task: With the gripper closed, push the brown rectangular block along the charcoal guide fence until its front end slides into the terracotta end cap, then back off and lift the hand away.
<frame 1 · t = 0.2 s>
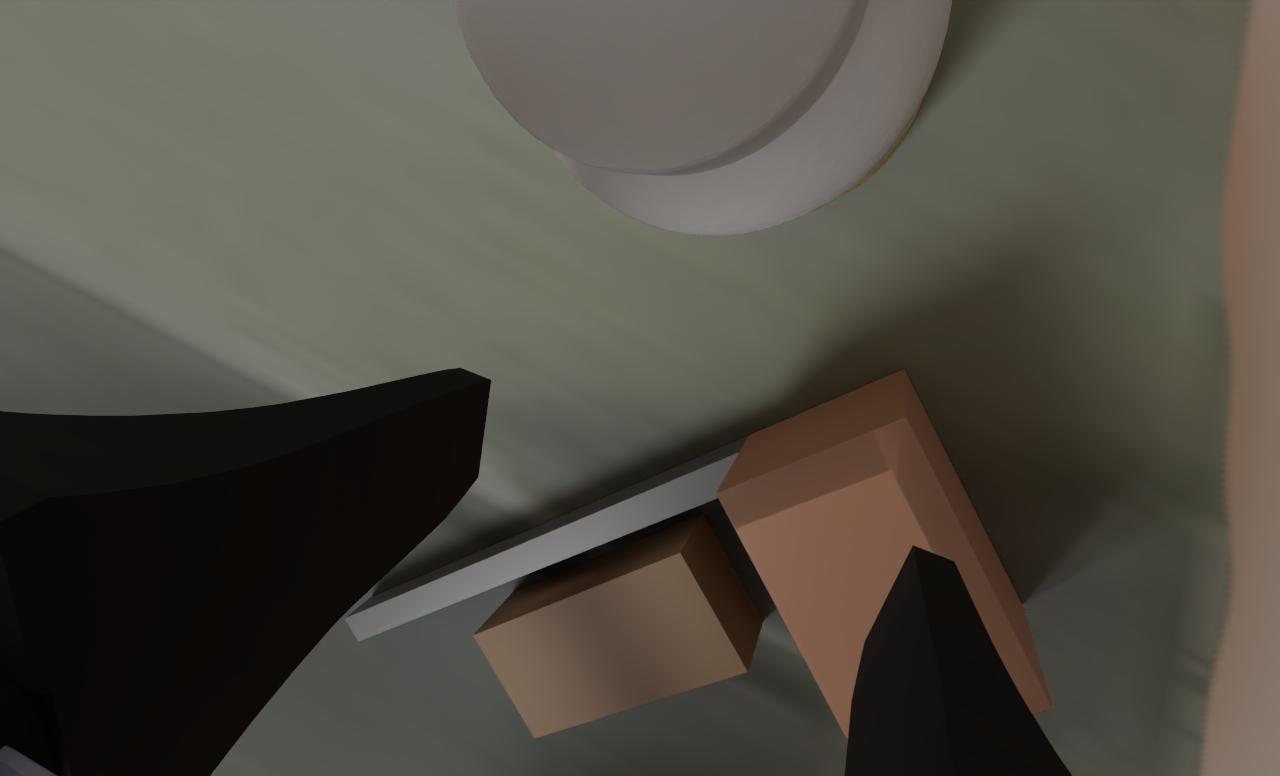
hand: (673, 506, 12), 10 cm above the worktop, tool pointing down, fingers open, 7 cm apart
brown rectangular block: (633, 601, 26), on the worktop
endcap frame: (655, 597, 25), on the worktop
supplement bottle: (792, 81, 20), on the worktop
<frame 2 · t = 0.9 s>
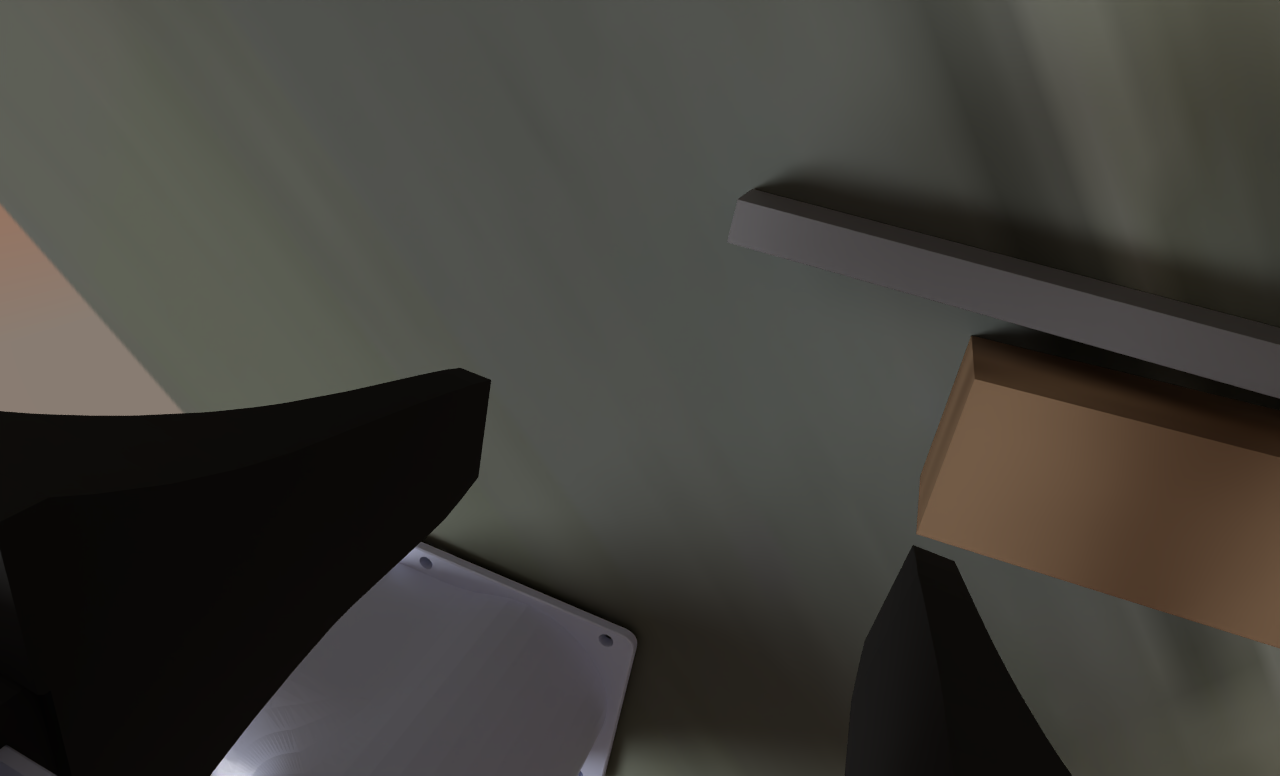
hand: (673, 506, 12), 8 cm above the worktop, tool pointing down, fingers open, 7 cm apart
brown rectangular block: (1118, 451, 18), on the worktop
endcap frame: (1167, 472, 17), on the worktop
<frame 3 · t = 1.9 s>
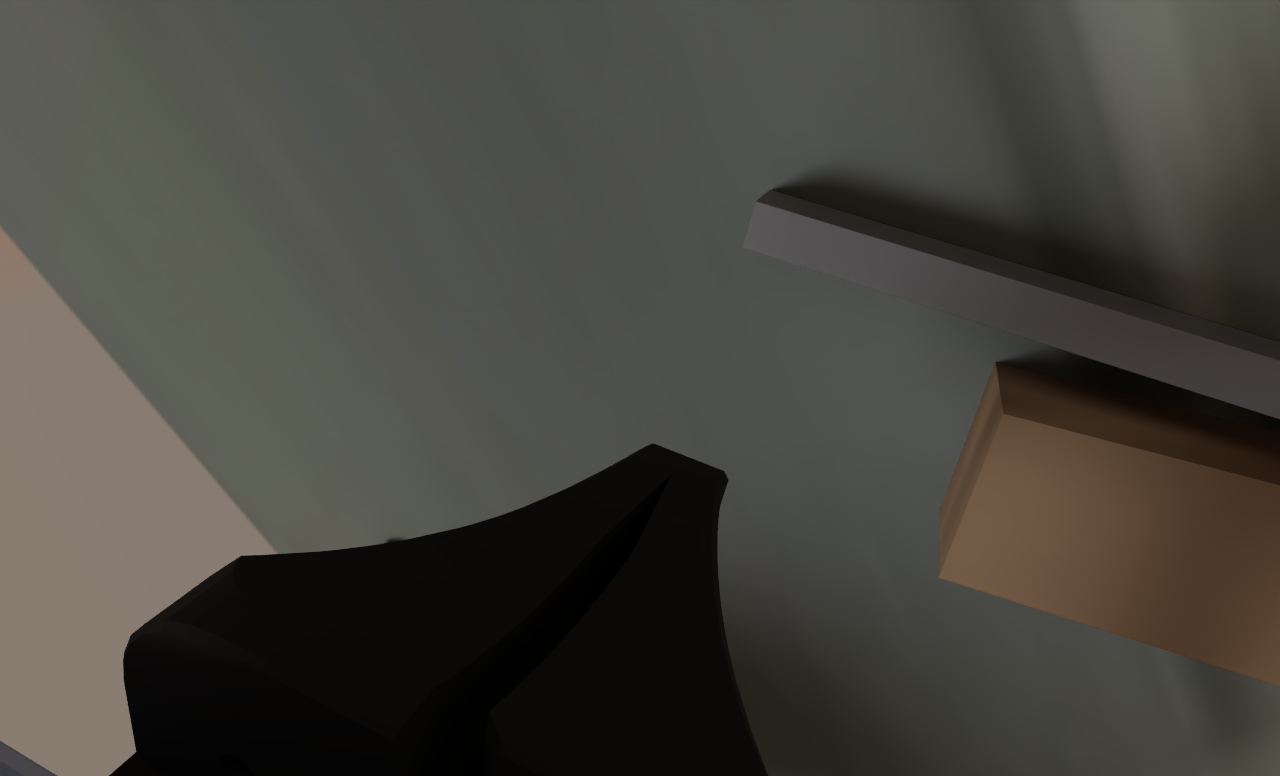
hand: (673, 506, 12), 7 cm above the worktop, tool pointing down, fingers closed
brown rectangular block: (1155, 485, 17), on the worktop
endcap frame: (1208, 510, 16), on the worktop
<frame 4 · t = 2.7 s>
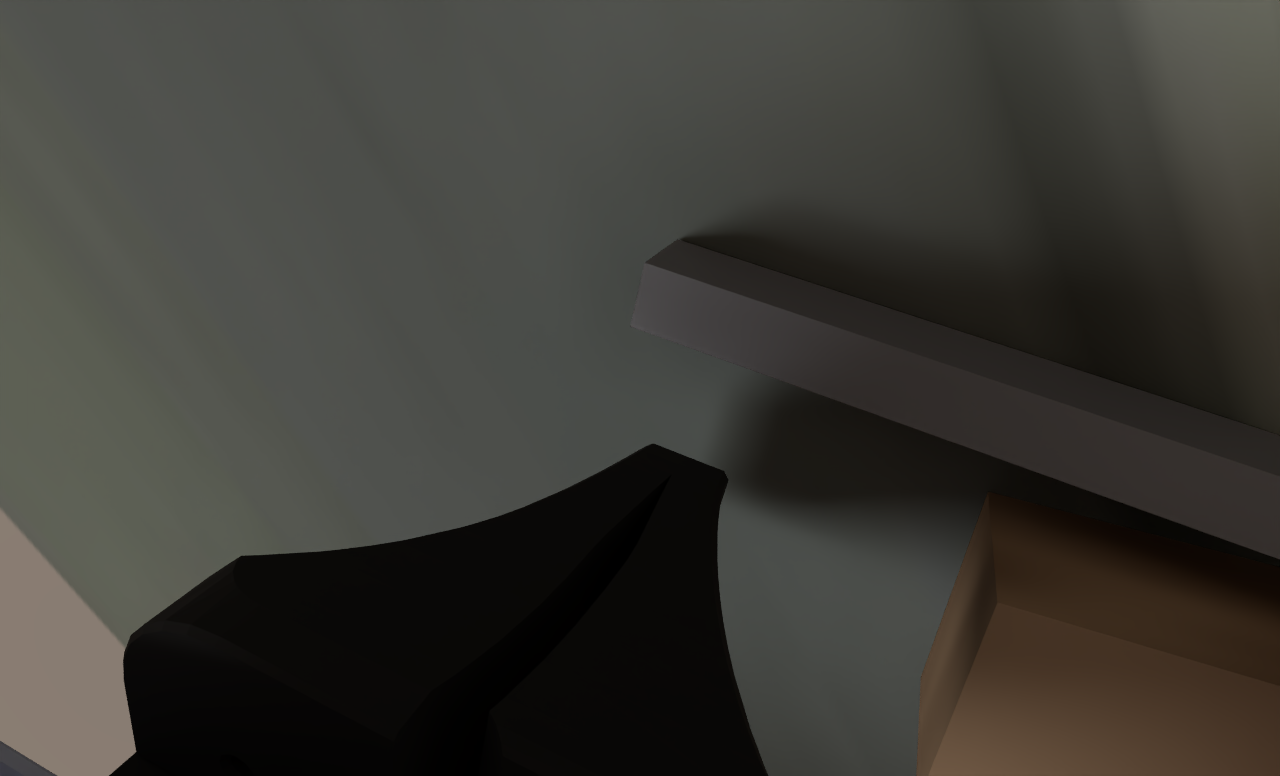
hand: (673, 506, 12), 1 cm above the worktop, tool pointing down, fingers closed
brown rectangular block: (1221, 660, 12), on the worktop
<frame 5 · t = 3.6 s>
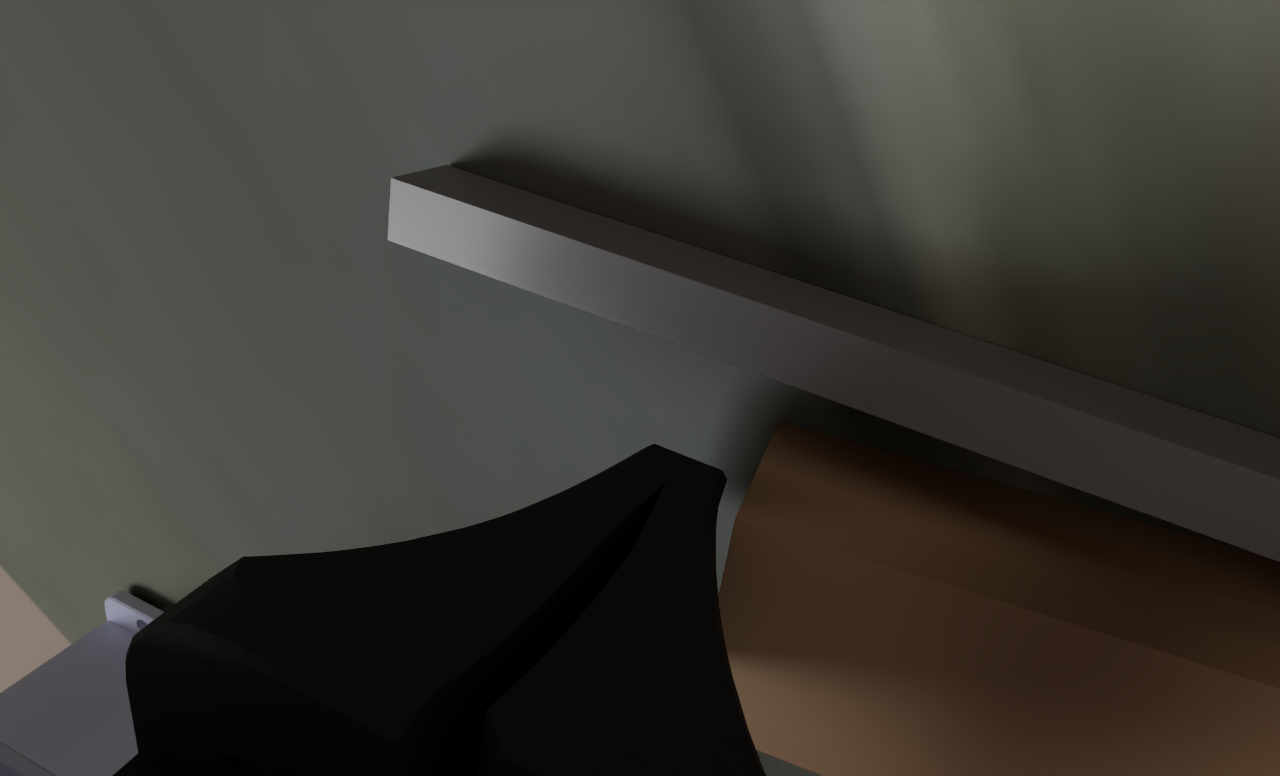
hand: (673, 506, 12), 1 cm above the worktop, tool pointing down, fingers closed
brown rectangular block: (992, 591, 12), on the worktop, touching gripper
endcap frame: (1008, 589, 12), on the worktop
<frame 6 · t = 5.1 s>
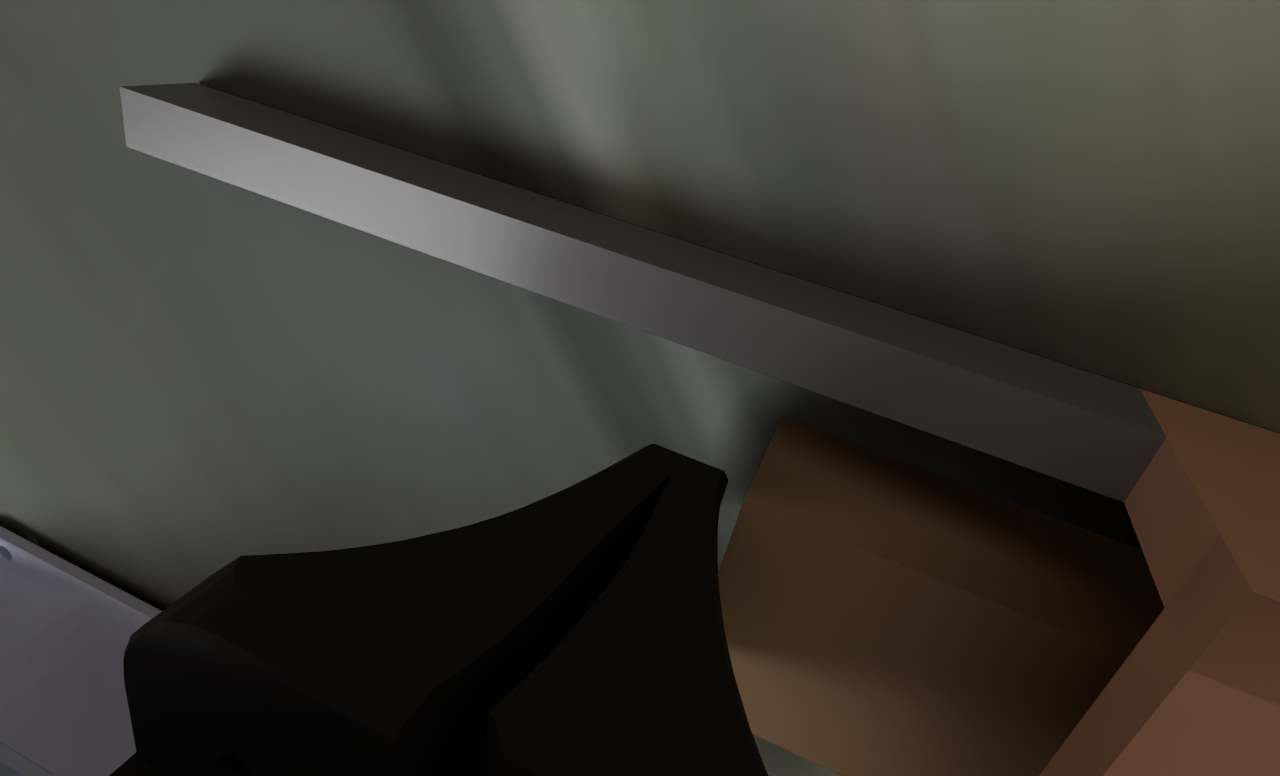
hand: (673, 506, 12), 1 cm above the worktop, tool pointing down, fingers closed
brown rectangular block: (974, 591, 13), on the worktop
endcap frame: (698, 465, 13), on the worktop
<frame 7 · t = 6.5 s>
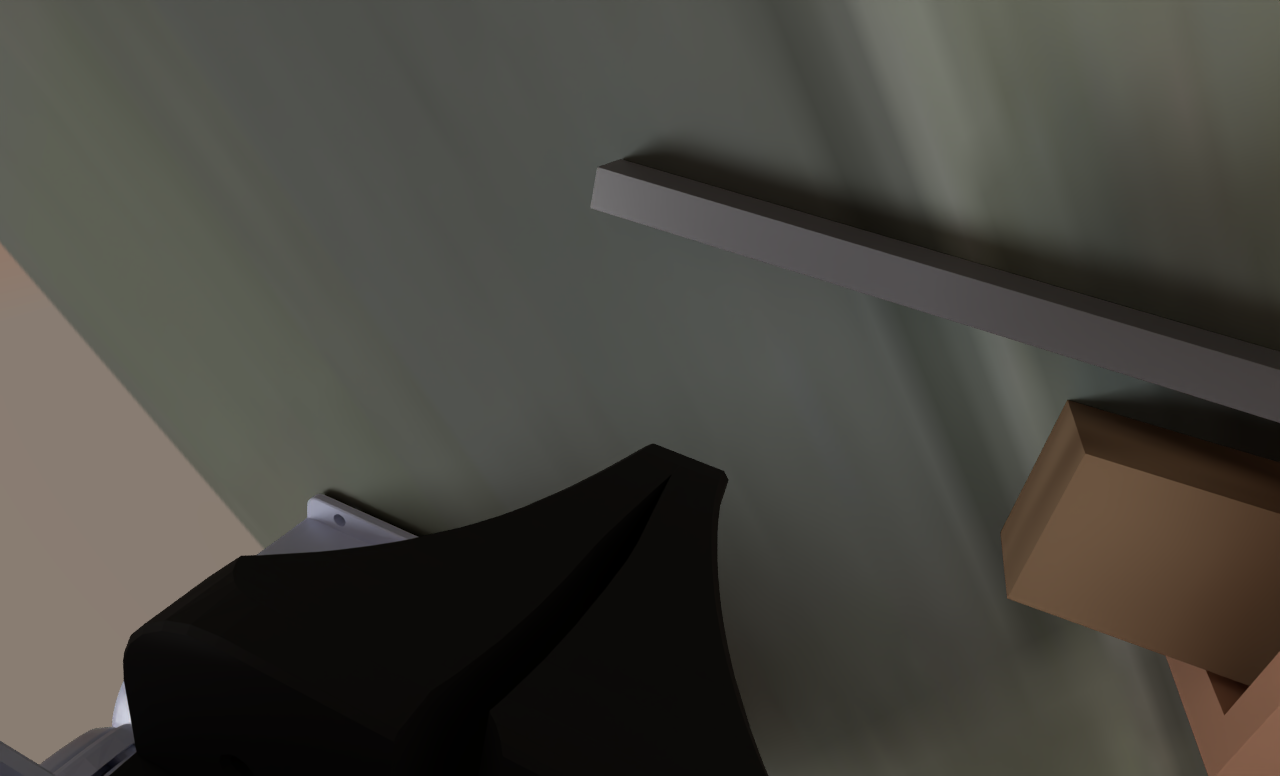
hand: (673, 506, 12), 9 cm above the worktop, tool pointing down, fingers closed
brown rectangular block: (1207, 520, 18), on the worktop
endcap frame: (999, 433, 18), on the worktop
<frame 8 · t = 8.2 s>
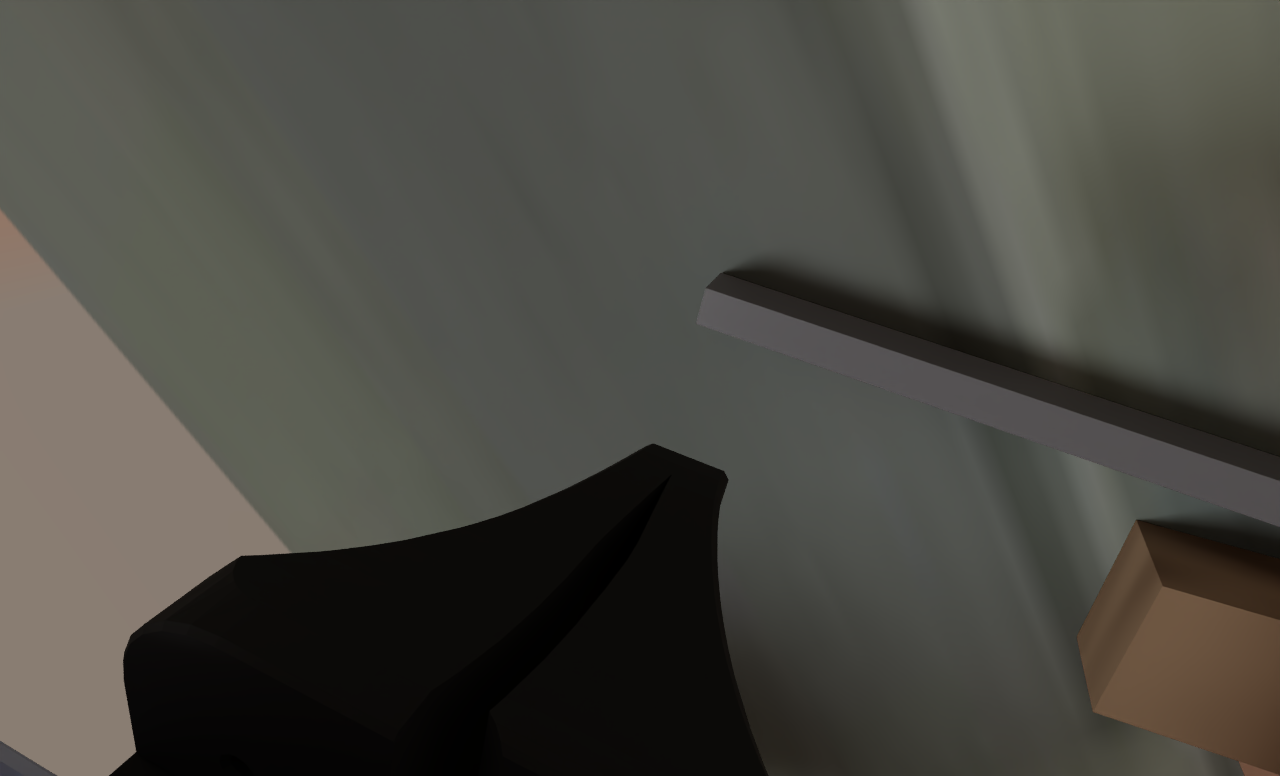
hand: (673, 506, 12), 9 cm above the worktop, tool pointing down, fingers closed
brown rectangular block: (1276, 625, 19), on the worktop
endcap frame: (1079, 538, 20), on the worktop
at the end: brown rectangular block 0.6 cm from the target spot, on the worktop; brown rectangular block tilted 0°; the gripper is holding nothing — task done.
